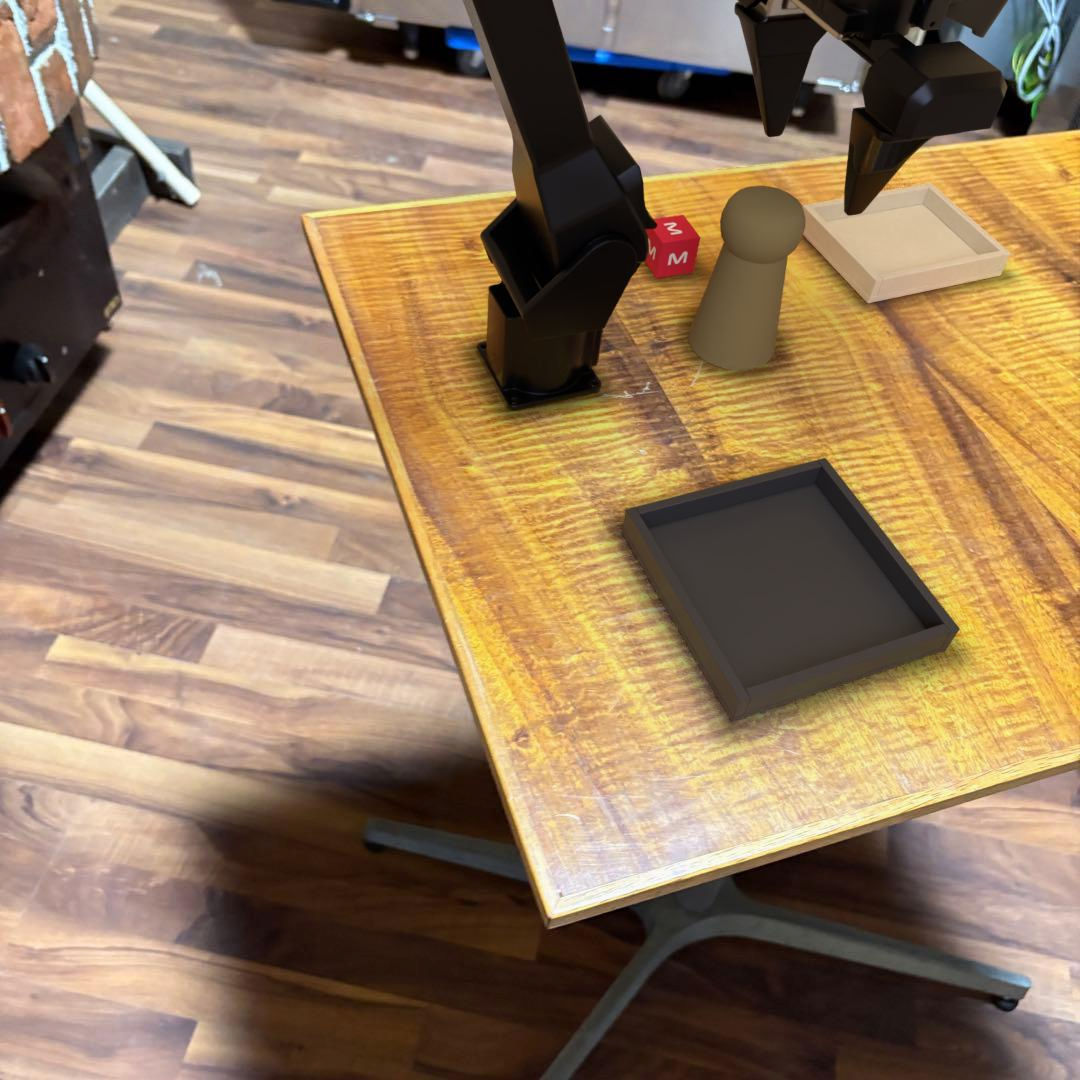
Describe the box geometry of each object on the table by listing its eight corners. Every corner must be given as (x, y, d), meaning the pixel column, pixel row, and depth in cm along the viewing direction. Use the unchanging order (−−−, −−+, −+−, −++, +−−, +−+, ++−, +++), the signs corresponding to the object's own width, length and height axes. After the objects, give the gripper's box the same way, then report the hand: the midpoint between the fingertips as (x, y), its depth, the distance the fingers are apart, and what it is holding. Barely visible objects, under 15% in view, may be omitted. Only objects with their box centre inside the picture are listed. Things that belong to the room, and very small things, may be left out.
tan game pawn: (772, 377, 68) (817, 233, 60) (683, 361, 69) (715, 216, 61) (777, 323, 72) (819, 181, 64) (692, 307, 73) (724, 165, 64)
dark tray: (731, 722, 51) (740, 701, 49) (620, 531, 59) (625, 508, 57) (946, 650, 55) (960, 628, 53) (816, 480, 62) (825, 457, 61)
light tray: (867, 303, 75) (876, 280, 73) (795, 227, 81) (802, 204, 79) (1000, 275, 78) (1011, 253, 77) (922, 204, 84) (931, 182, 83)
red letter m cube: (693, 272, 76) (700, 237, 73) (656, 278, 75) (662, 242, 73) (676, 249, 77) (683, 214, 75) (640, 255, 77) (646, 219, 74)
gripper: (1158, -54, 48) (1013, 238, 59) (922, -181, 58) (838, 88, 70) (967, -40, 44) (853, 268, 56) (754, -177, 55) (696, 105, 67)
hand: (811, 172), depth 62 cm, fingers open, 9 cm apart
